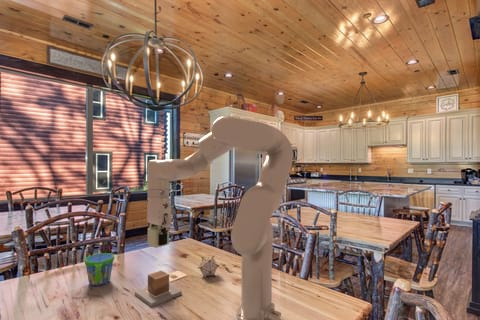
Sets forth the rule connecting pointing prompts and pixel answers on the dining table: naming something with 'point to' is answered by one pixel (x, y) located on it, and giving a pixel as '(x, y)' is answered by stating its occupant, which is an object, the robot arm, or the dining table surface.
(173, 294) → the plate
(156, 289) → the walnut block
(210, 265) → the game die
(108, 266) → the snack cup
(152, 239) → the sage block
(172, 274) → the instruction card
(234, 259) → the dining table surface
